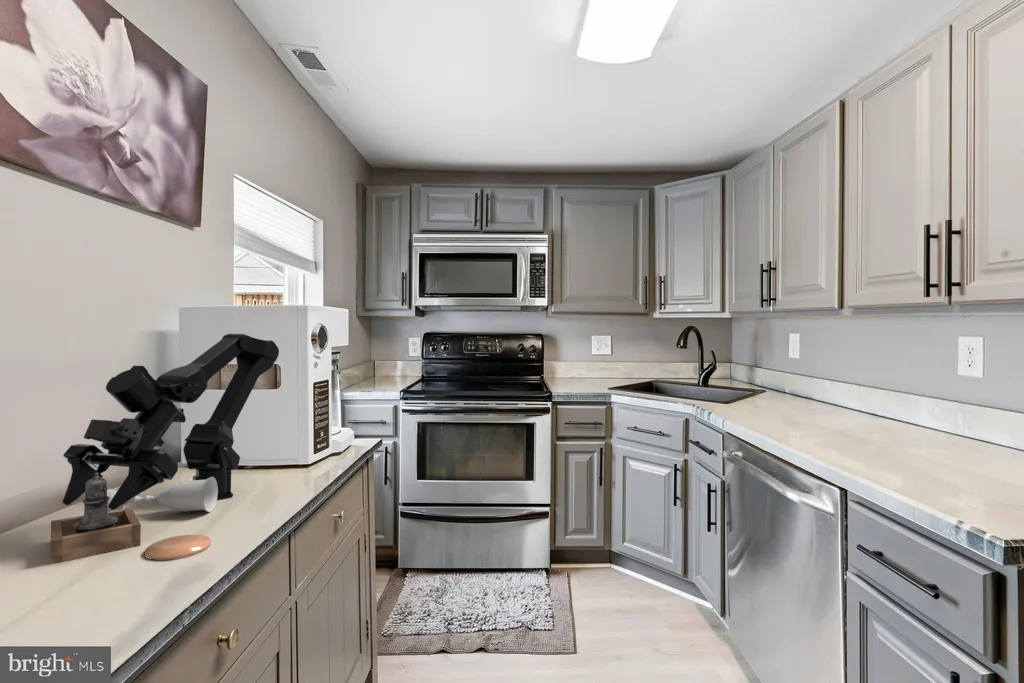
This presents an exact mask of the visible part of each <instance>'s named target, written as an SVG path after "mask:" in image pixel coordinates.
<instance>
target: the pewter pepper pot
mask: <svg viewBox="0 0 1024 683" xmlns="http://www.w3.org/2000/svg"><path fill="white" fill-rule="evenodd" d="M94 475H95V477H93V478H91V479H89V480H88V481H87V482H86V484H85V493H84V499H82V501H81V503H82V504H84V505H83V506H84V509H83V510H84V513H83V515H82V516H83V519H82V520H81V521H79V522H77V523H75V524H74V525H73V528H74V529H75V533H76V534H79V533H85V532H90V531H95V530H101V529H106V528H112V527H115V522H117V520H118V518H116V517H113V516H109V514H108V511H107V500H109V499H110V498H109V497H108V496H107V490H108V481H107V479H106V478H105V477H99V476H98V475H99V474H98V473H97V472H96V473H95V474H94Z"/></svg>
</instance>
